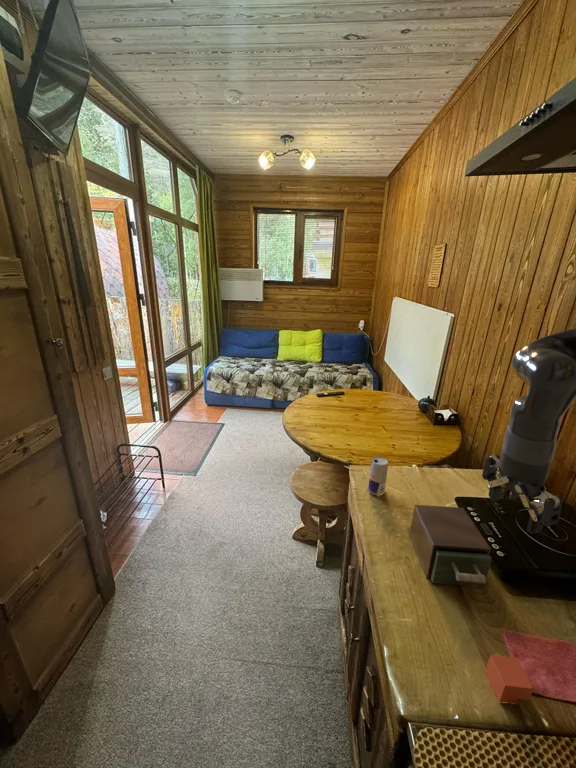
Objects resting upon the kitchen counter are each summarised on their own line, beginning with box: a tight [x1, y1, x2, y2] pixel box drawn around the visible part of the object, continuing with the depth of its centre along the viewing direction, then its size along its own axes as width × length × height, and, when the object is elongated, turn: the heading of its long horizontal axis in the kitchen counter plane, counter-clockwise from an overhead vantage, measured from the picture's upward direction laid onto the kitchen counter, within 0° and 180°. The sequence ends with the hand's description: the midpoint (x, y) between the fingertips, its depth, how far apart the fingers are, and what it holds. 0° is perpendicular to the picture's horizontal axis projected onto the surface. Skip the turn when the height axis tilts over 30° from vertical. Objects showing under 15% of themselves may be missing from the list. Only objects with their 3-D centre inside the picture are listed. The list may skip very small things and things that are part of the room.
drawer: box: [430, 548, 493, 586], centre depth 73 cm, size 17×11×8 cm
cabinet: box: [409, 504, 492, 580], centre depth 77 cm, size 14×13×10 cm
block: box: [484, 654, 534, 705], centre depth 52 cm, size 4×4×4 cm
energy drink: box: [367, 456, 389, 497], centre depth 101 cm, size 5×5×12 cm
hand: (512, 514), depth 63 cm, fingers open, 8 cm apart
